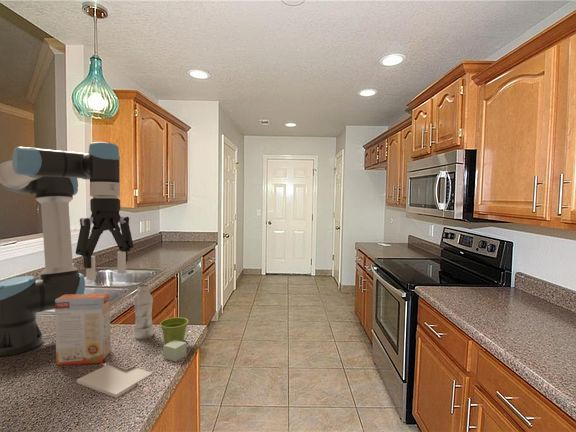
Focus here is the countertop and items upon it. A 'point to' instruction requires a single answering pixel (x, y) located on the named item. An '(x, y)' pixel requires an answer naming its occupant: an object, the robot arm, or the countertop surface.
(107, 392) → the board
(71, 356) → the cracker box
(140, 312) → the plastic bottle
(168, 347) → the sage block
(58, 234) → the robot arm
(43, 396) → the countertop surface
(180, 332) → the plant pot
